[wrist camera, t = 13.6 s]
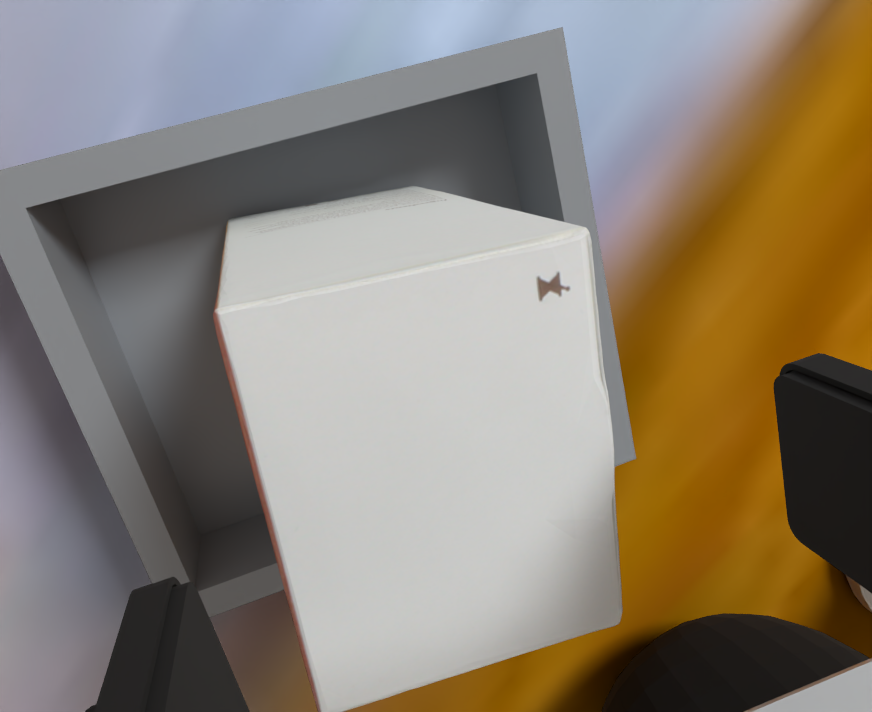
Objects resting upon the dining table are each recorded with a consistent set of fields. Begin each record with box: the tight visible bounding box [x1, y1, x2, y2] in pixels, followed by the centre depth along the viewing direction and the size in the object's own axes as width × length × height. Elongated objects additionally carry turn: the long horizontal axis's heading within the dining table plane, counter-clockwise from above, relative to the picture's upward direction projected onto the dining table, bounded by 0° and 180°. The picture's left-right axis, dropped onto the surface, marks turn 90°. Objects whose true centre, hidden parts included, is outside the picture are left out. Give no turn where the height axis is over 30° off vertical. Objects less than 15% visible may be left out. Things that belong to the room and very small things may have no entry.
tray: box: [0, 27, 636, 618], centre depth 23 cm, size 14×16×4 cm
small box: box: [213, 186, 622, 712], centre depth 18 cm, size 8×6×13 cm
